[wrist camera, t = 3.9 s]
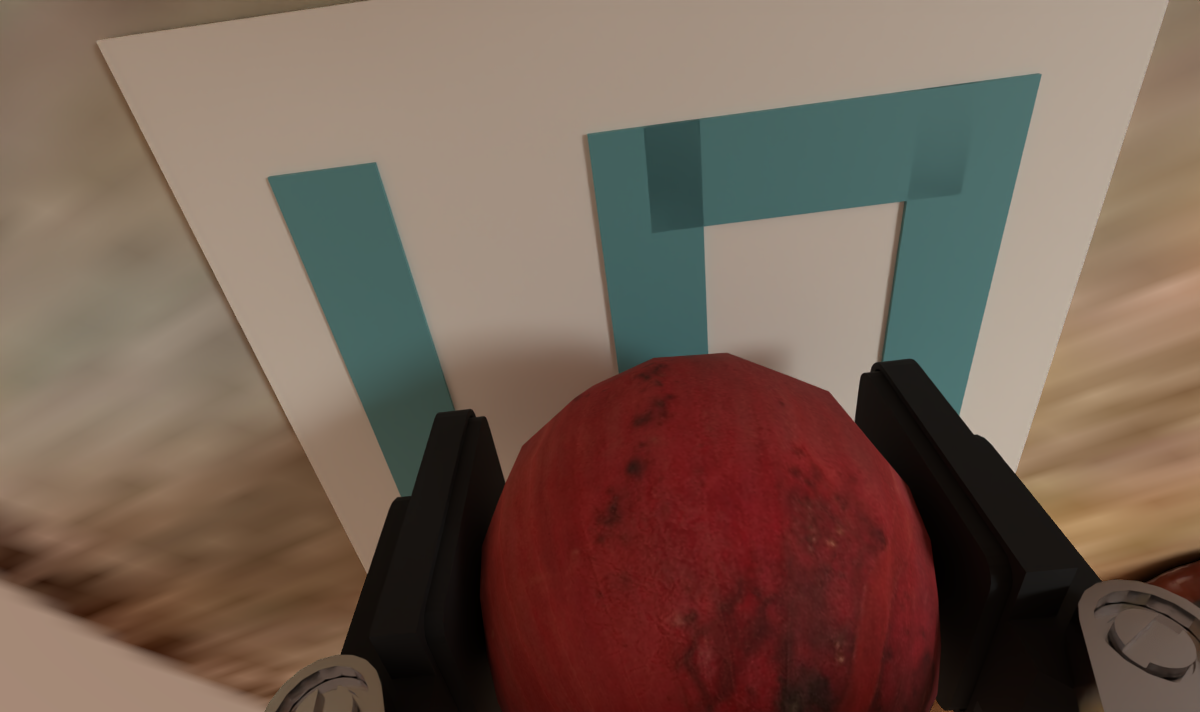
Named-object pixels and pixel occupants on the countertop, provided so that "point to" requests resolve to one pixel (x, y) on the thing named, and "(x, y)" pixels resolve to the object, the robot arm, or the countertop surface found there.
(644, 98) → the letter board
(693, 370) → the onion
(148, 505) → the countertop surface
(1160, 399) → the countertop surface
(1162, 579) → the supplement bottle
